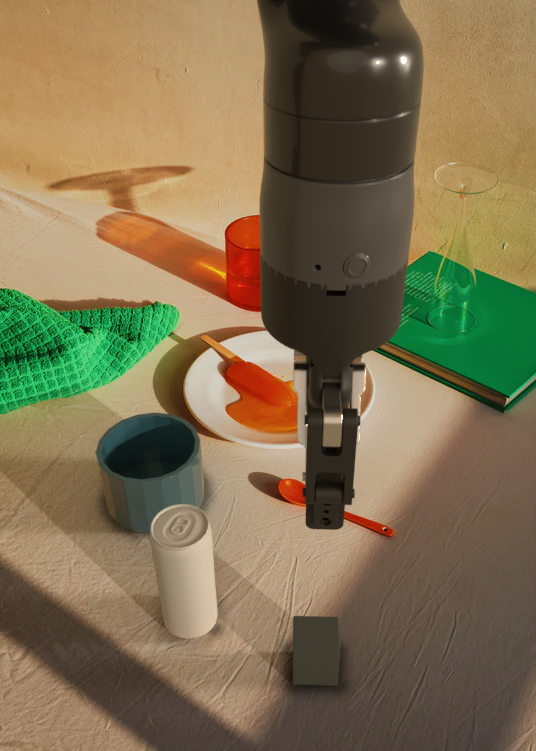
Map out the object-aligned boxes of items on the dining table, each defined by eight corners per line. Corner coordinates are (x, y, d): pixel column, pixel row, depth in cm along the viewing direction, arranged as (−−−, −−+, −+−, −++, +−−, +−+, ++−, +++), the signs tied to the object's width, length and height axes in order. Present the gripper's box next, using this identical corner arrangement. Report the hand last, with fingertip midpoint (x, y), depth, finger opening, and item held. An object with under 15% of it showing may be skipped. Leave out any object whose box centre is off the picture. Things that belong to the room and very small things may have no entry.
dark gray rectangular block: (337, 686, 59) (340, 650, 56) (292, 684, 59) (292, 649, 56) (336, 652, 61) (338, 616, 58) (292, 651, 62) (293, 615, 59)
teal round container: (140, 550, 70) (131, 499, 66) (88, 491, 77) (77, 441, 72) (224, 500, 75) (220, 449, 71) (168, 448, 82) (162, 399, 77)
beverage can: (153, 632, 63) (136, 539, 56) (179, 588, 67) (166, 495, 60) (204, 650, 62) (193, 557, 55) (227, 604, 65) (220, 511, 58)
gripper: (266, 186, 43) (268, 402, 53) (251, 317, 32) (258, 562, 41) (395, 187, 43) (373, 404, 52) (428, 320, 31) (392, 566, 41)
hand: (322, 474), depth 47 cm, fingers open, 8 cm apart
